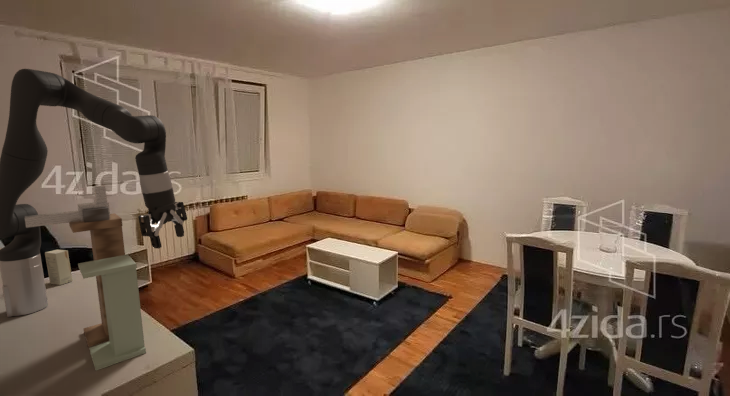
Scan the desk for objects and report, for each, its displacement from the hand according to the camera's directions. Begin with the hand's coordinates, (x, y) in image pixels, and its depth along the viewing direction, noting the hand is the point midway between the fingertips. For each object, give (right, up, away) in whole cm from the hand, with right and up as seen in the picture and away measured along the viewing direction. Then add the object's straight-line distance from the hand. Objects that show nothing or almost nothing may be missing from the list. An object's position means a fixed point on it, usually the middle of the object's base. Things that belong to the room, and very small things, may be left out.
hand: (169, 242), depth 102 cm
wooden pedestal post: (-13, -24, -6) cm, 28 cm away
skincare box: (-58, -19, +29) cm, 67 cm away
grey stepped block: (-17, +7, -15) cm, 23 cm away
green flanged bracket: (-4, -25, -16) cm, 30 cm away
